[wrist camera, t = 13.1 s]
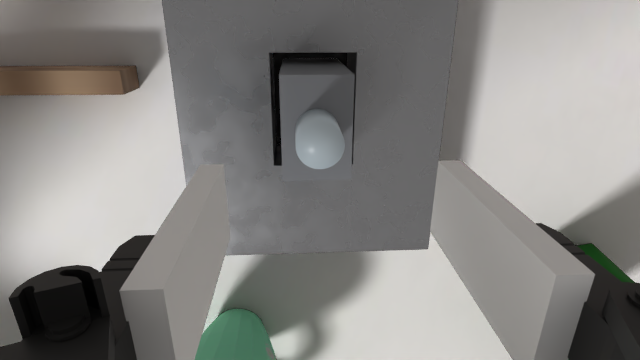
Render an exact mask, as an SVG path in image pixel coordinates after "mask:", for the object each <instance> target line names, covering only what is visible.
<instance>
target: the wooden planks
mask: <svg viewBox="0 0 640 360" xmlns="http://www.w3.org/2000/svg"><path fill="white" fill-rule="evenodd" d="M137 88H139V81H138V75H137V69H136V66H0V95H121V94H126V93H128V92H131V91H133V90H135V89H137Z"/></svg>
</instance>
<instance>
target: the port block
mask: <svg viewBox="0 0 640 360" xmlns="http://www.w3.org/2000/svg"><path fill="white" fill-rule="evenodd" d="M162 5H163V13H164V20H165V28H166V35H167V43H168V50H169V58H170V65H171V73H172V81H173V88H174V96H175V103H176V111H177V118H178V126H179V134H180V141H181V149H182V156H183V164H184V171H185V179H186V186H187V185H188V183H189V182H190V180H191V178H192V177H193V175H194V174H195V172H196V171H197V169H198V168H199V166H200V165H211V164H224V173H225V184H226V194H227V205H228V216H229V227H230V240H229V243H228V247H227V250H226V253H225V255H253V254H286V253H319V252H352V251H385V250H418V249H428V245H429V237H430V227H431V219H432V210H433V202H434V194H435V186H436V177H437V169H438V161H439V155H440V147H441V138H442V130H443V122H444V114H445V106H446V97H447V89H448V81H449V73H450V64H451V56H452V48H453V40H454V31H455V23H456V15H457V7H458V0H162ZM306 52H347V68H348V69H349V70H350V71H351V72H352V73H353V74H355V80H354V108H353V137H352V166H351V180H309V181H283V179H282V150H281V145H277V142H276V116H275V90H274V64H273V53H306Z"/></svg>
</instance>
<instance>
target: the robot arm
mask: <svg viewBox="0 0 640 360" xmlns="http://www.w3.org/2000/svg"><path fill="white" fill-rule="evenodd" d="M430 232H431V233H432V235H433V237H434V238H435V240H436V241H437V243H438V244H439V246H440V247H441V249H442V251H443V252H444V254H445V255H446V257H447V258H448V260H449V261H450V263H451V265H452V266H453V268H454V269H455V271H456V272H457V274H458V275H459V277H460V279H461V280H462V282H463V283H464V285H465V286H466V288H467V289H468V291H469V292H470V294H471V296H472V297H473V299H474V300H475V302H476V303H477V305H478V306H479V308H480V310H481V311H482V313H483V314H484V316H485V317H486V319H487V320H488V322H489V324H490V325H491V327H492V328H493V330H494V331H495V333H496V334H497V336H498V338H499V339H500V341H501V342H502V344H503V345H504V347H505V348H506V350H507V351H508V353H509V355H510V356H511V358H512V359H513V360H640V283H631V282H621V281H620V280H619V279H618V278H616V277H615V276H614V275H613V274H611V273H610V272H609V271H608V270H606V269H605V268H604V267H603V266H601V265H600V264H599V263H598V262H596V261H595V260H594V259H593V258H591V257H590V256H589V255H585V252H584V251H583V250H581V249H580V248H579V247H578V246H576V245H574V243H573V242H571V241H570V240H569V239H568V238H566V237H565V236H564V235H563V234H561V233H560V232H558V231H556V230H554V229H552V228H550V227H548V226H546V225H544V224H542V223H536V224H535V223H534V222H533V221H532V220H531V219H529V218H528V217H527V216H526V215H525V214H523V213H522V212H521V211H520V210H519V209H517V208H516V207H515V206H514V205H513V204H512V203H510V202H509V201H508V200H507V199H506V198H504V197H503V196H502V195H501V194H500V193H499V192H497V191H496V190H495V189H494V188H493V187H491V186H490V185H489V184H488V183H487V182H486V181H484V180H483V179H482V178H481V177H480V176H478V175H477V174H476V173H475V172H474V171H472V170H471V169H470V168H469V167H468V166H467V165H465V164H464V163H463V162H462V161H461V160H444V161H438V169H437V177H436V186H435V194H434V202H433V210H432V219H431V227H430ZM229 240H230V227H229V216H228V205H227V194H226V184H225V173H224V164H211V165H200V166H199V168H198V169H197V171H196V172H195V174H194V175H193V177H192V178H191V180H190V182H189V183H188V185H187V186H186V188H185V189H184V191H183V192H182V194H181V196H180V197H179V199H178V200H177V202H176V203H175V205H174V206H173V208H172V210H171V211H170V213H169V214H168V216H167V217H166V219H165V220H164V222H163V224H162V225H161V227H160V228H159V230H158V231H157V233H156V234H155V235H142V236H134V237H133V238H131V239H130V240H128V241H127V242H125V243H124V244H122V245H121V246H119V247H118V249H117V250H116V251H115V253H114V254H113V255H112V257H111V258H110V261H108V262H107V263H106V264H105V266H104V267H103V268H102V272H98V270H96V269H94V268H92V267H90V266H80V265H74V266H66V267H60V268H56V269H53V270H50V271H46V272H43V273H41V274H39V275H37V276H35V277H33V278H31V279H29V280H27V281H26V282H24V283H23V284H22V285H20V286H19V287H17V288H16V289H15V290H14V292H13V293H12V294H11V296H10V297H9V301H10V304H11V306H12V309H13V312H14V315H15V318H16V321H17V323H18V326H19V329H20V332H21V335H22V338H23V339H22V341H21V342H18V343H14V344H11V345H7V346H3V347H0V360H195V356H196V353H197V349H198V346H199V343H200V339H201V336H202V332H203V329H204V325H205V322H206V319H207V315H208V312H209V308H210V305H211V301H212V298H213V295H214V291H215V288H216V284H217V281H218V277H219V274H220V271H221V267H222V264H223V260H224V257H225V253H226V250H227V247H228V243H229Z"/></svg>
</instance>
